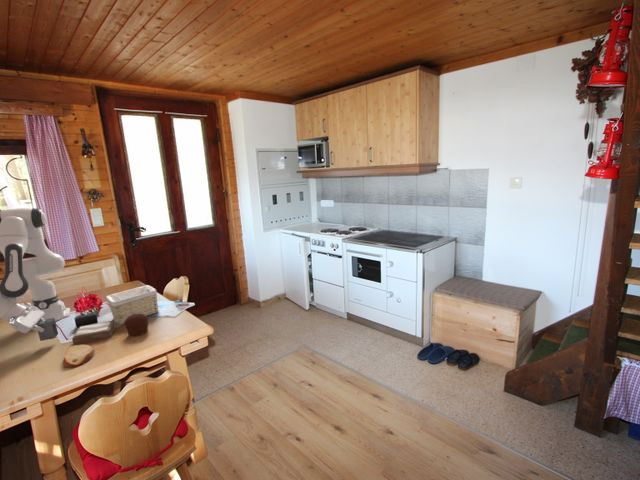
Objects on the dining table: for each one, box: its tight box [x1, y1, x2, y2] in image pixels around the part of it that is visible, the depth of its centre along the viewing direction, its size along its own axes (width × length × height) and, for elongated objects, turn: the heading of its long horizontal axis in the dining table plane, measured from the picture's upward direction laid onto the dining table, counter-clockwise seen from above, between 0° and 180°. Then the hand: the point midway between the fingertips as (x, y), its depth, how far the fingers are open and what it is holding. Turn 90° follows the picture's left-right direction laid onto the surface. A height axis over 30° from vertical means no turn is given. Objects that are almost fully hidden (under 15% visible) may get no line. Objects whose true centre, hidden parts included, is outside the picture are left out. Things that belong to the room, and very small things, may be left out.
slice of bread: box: [62, 344, 95, 369], centre depth 156 cm, size 18×18×4 cm
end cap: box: [74, 311, 99, 329], centre depth 190 cm, size 10×7×7 cm
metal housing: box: [35, 318, 59, 342], centre depth 168 cm, size 5×6×9 cm
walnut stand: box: [71, 319, 116, 346], centre depth 176 cm, size 14×16×5 cm
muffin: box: [123, 313, 150, 338], centre depth 176 cm, size 12×11×10 cm
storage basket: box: [105, 284, 159, 325], centre depth 199 cm, size 24×16×15 cm
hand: (46, 327), depth 168 cm, fingers closed on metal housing, 5 cm apart
